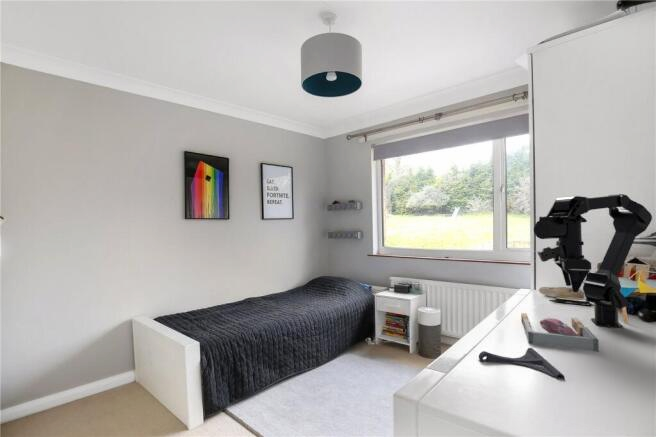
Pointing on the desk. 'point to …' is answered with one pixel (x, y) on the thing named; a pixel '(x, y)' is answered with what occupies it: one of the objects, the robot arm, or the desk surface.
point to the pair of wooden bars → (575, 323)
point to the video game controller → (557, 327)
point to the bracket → (524, 362)
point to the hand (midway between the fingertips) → (571, 288)
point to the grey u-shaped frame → (563, 339)
